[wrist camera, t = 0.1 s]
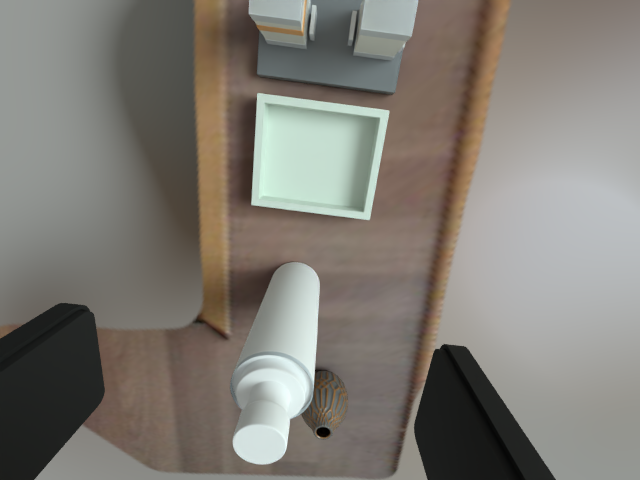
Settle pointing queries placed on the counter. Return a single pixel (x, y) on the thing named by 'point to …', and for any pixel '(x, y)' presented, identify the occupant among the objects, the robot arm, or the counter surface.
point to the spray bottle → (277, 364)
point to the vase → (326, 405)
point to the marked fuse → (282, 21)
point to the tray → (317, 156)
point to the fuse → (384, 27)
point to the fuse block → (329, 53)
